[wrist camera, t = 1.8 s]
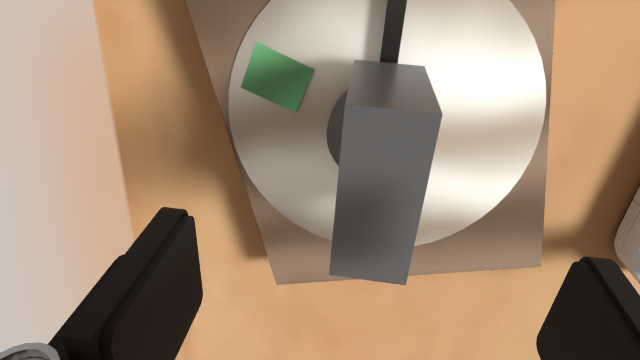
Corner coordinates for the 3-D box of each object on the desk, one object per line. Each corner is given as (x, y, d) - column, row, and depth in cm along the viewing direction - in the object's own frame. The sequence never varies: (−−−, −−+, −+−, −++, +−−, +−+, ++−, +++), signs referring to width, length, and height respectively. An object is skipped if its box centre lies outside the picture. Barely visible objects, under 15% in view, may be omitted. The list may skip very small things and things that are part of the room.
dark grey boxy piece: (417, 193, 22) (431, 288, 16) (324, 182, 23) (303, 271, 17) (461, -24, 17) (508, -9, 11) (341, -34, 18) (320, -23, 11)
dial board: (525, 235, 27) (542, 268, 24) (285, 255, 30) (276, 286, 27) (536, -149, 18) (566, -166, 15) (191, -61, 21) (163, -63, 18)
